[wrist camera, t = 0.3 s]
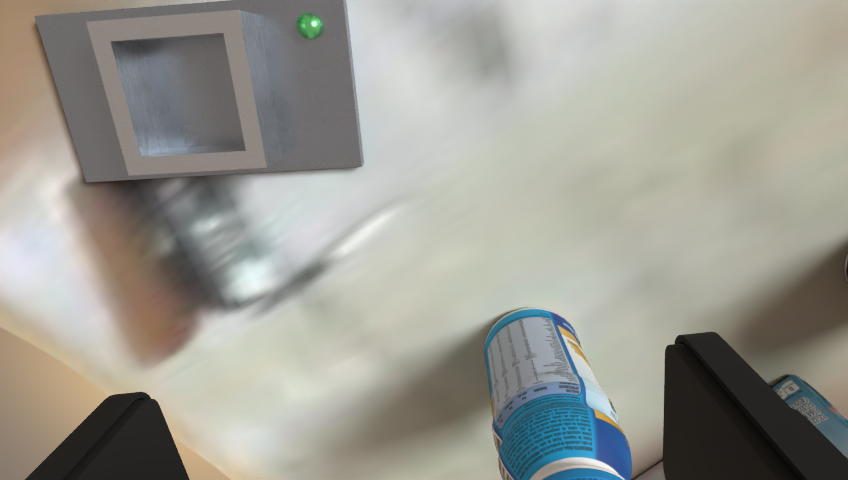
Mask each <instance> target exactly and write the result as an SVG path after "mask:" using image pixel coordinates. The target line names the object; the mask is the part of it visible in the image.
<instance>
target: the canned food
mask: <svg viewBox="0 0 848 480" xmlns="http://www.w3.org/2000/svg"><path fill="white" fill-rule="evenodd" d="M844 271H845V276H846V281H847V283H848V255H847V257H846V261H845V269H844Z"/></svg>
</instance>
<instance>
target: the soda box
mask: <svg viewBox="0 0 848 480" xmlns="http://www.w3.org/2000/svg"><path fill="white" fill-rule="evenodd" d="M772 389H773V390H774V391H775V392H776V393H777V394H778V395H779V396H780V397H781V398H782V399H783V400H784V401H785V402H786V403H787V404H788V405H789V406H790V407H791V408H793V409H796V410H798V411H799V412H800V413H801V414H803V415H804V416H805V417H806V418H807V419H808V420H809V421H810V422H811V423H812V424H813V425H814V426H815V427H816V428H817V429H818V430H819V431H820V432H821V433H822V434H823V435H824V436H825V437H826V438H827V439H828V440H829V441H830V442H831V443H832V444H833V445H834V446H835V447H836V448H837V449H838V450H839V451H840V452H841V453H842V454H843V455H844V456H846V457H847V458H848V419H847V418H846V417H845V416H844V415H843V414H842V413H841V412H840V411H839V410H837V409H836V408H835V407H834V406H833V405H832V404H831V403H830V402H828V401H827V400H826V399H825V398H824V397H823V396H822V395H821V394H820V393H819V392H817V391H816V390H815V389H814V388H813V387H812V386H810V385H809V384H808V383H807V382H805V381H803V380H802V379H800V378H798V377H797V376H795V375H791V376H789V377H788V378H786V379H785V380H783V381H782V382H780V383H778V384H777V385H776V386H774V387H773V388H772ZM634 480H666V479H665V475H664V470H663V461H661V462H660V463H658V464H657V465H655V466H654V467H652V468H651V469H649V470H648V471H646V472H645V473H643V474H642V475H640V476H639V477H637V478H636V479H634Z"/></svg>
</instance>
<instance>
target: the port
mask: <svg viewBox="0 0 848 480" xmlns="http://www.w3.org/2000/svg"><path fill="white" fill-rule="evenodd" d="M35 19H36V23H37V26H38V29H39V32H40V36H41V39H42V42H43V45H44V48H45V52H46V55H47V58H48V61H49V65H50V68H51V71H52V74H53V77H54V81H55V84H56V87H57V90H58V93H59V97H60V100H61V103H62V106H63V110H64V113H65V116H66V119H67V122H68V126H69V129H70V132H71V135H72V139H73V142H74V145H75V148H76V151H77V155H78V158H79V161H80V164H81V167H82V171H83V174H84V177H85V180H86V182H102V181H119V180H137V179H154V178H172V177H189V176H206V175H224V174H241V173H259V172H276V171H293V170H311V169H328V168H346V167H362V166H363V164H364V161H363V152H362V143H361V133H360V124H359V115H358V106H357V97H356V88H355V79H354V69H353V60H352V51H351V42H350V33H349V24H348V15H347V5H346V0H231V1H218V2H206V3H193V4H181V5H168V6H155V7H143V8H130V9H118V10H105V11H93V12H80V13H67V14H55V15H42V16H35Z"/></svg>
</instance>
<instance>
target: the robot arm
mask: <svg viewBox="0 0 848 480" xmlns="http://www.w3.org/2000/svg"><path fill="white" fill-rule="evenodd" d="M663 470H664V475H665V479H666V480H848V458H847V457H846V456H844V455H843V454H842V453H841V452H840V451H839V450H838V449H837V448H836V447H835V446H834V445H833V444H832V443H831V442H830V441H829V440H828V439H827V438H826V437H825V436H824V435H823V434H822V433H821V432H820V431H819V430H818V429H817V428H816V427H815V426H814V425H813V424H812V423H811V422H810V421H809V420H808V419H807V418H806V417H805V416H804V415H803V414H801V413H800V412H799V411H798V410H796V409H793V408H791V407H790V406H789V405H788V404H787V403H786V402H785V401H784V400H783V399H782V398H781V397H780V396H779V395H778V394H777V393H776V392H775V391H774V390H773V389H772V388H771V387H770V386H769V385H768V384H767V383H766V382H765V381H764V380H763V379H762V378H761V377H760V376H759V375H758V374H757V373H756V372H755V371H754V370H753V369H752V368H751V367H750V366H749V365H748V364H747V363H746V362H745V361H744V360H743V359H742V358H741V357H740V356H739V355H738V354H737V353H736V352H735V351H734V350H733V349H732V348H731V347H730V346H729V345H728V344H727V343H726V342H725V341H724V340H723V339H722V338H721V337H720V336H719V335H718V334H717V333H715V332H705V333H696V334H686V335H679V336H678V337H677V338H676V340H675V344H674V345H668V346H667V347H666V350H665V385H664V435H663ZM25 480H189V477H188V475H187V473H186V470H185V468H184V465H183V463H182V460H181V458H180V455H179V453H178V450H177V448H176V445H175V443H174V440H173V438H172V435H171V433H170V431H169V428H168V426H167V423H166V421H165V418H164V416H163V413H162V411H161V408H160V406H159V404H158V402H157V401H156V400H154V399H151V398H150V396H149V395H148V394H146V393H144V392H135V393H126V394H116V395H112V396H109V397H108V398H106V399H105V400H104V401H103V402H102V403H101V404H100V405H99V406H98V407H97V408H96V409H95V410H94V411H93V412H92V413H91V414H90V415H89V416H88V417H87V418H86V419H85V420H84V421H83V422H82V423H81V424H80V425H79V426H78V427H77V428H76V429H75V430H74V431H73V432H72V433H71V434H70V435H69V436H68V437H67V438H66V439H65V440H64V441H63V442H62V443H61V444H60V445H59V446H58V447H57V448H56V449H55V450H54V451H53V452H52V453H51V454H50V455H49V456H48V457H47V458H46V459H45V460H44V461H43V462H42V463H41V464H40V465H39V466H38V467H37V468H36V469H35V470H34V471H33V472H32V473H31V474H30V475H29V476H28V477H27V478H26V479H25Z"/></svg>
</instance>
